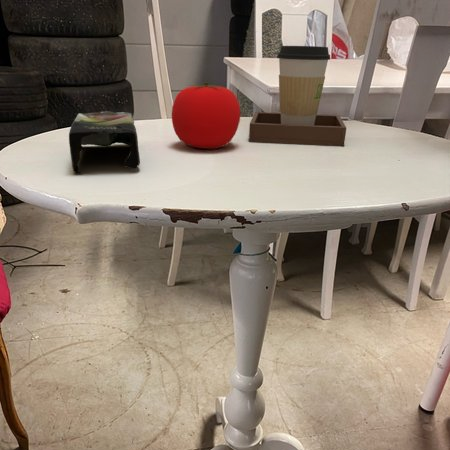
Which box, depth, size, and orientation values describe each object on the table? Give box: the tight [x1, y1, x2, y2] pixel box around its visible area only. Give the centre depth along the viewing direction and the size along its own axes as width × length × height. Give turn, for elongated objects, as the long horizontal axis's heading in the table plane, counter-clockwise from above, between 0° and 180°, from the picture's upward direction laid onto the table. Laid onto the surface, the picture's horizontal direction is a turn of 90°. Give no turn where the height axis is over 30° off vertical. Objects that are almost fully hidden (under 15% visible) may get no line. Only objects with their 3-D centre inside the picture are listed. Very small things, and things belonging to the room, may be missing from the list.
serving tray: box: [248, 111, 347, 147], centre depth 92 cm, size 18×15×3 cm
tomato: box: [171, 81, 242, 150], centre depth 81 cm, size 12×12×10 cm
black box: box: [68, 110, 141, 174], centre depth 73 cm, size 20×10×6 cm, turn 12°
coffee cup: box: [276, 45, 331, 126], centre depth 89 cm, size 10×10×15 cm
